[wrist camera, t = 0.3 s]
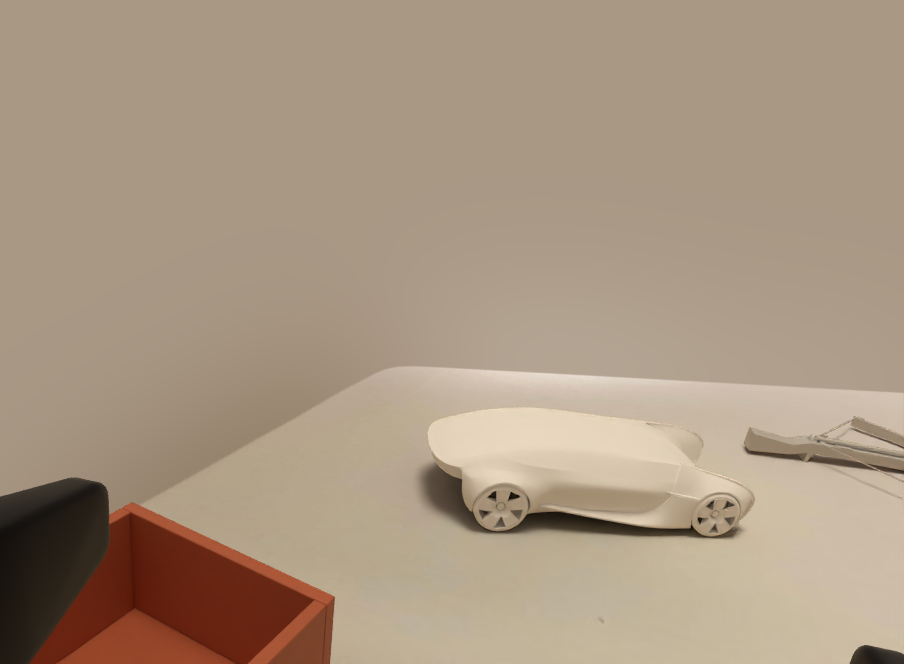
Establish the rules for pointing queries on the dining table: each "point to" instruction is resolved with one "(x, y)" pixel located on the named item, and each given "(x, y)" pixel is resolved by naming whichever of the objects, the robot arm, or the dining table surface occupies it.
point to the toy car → (584, 470)
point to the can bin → (187, 604)
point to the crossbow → (832, 446)
